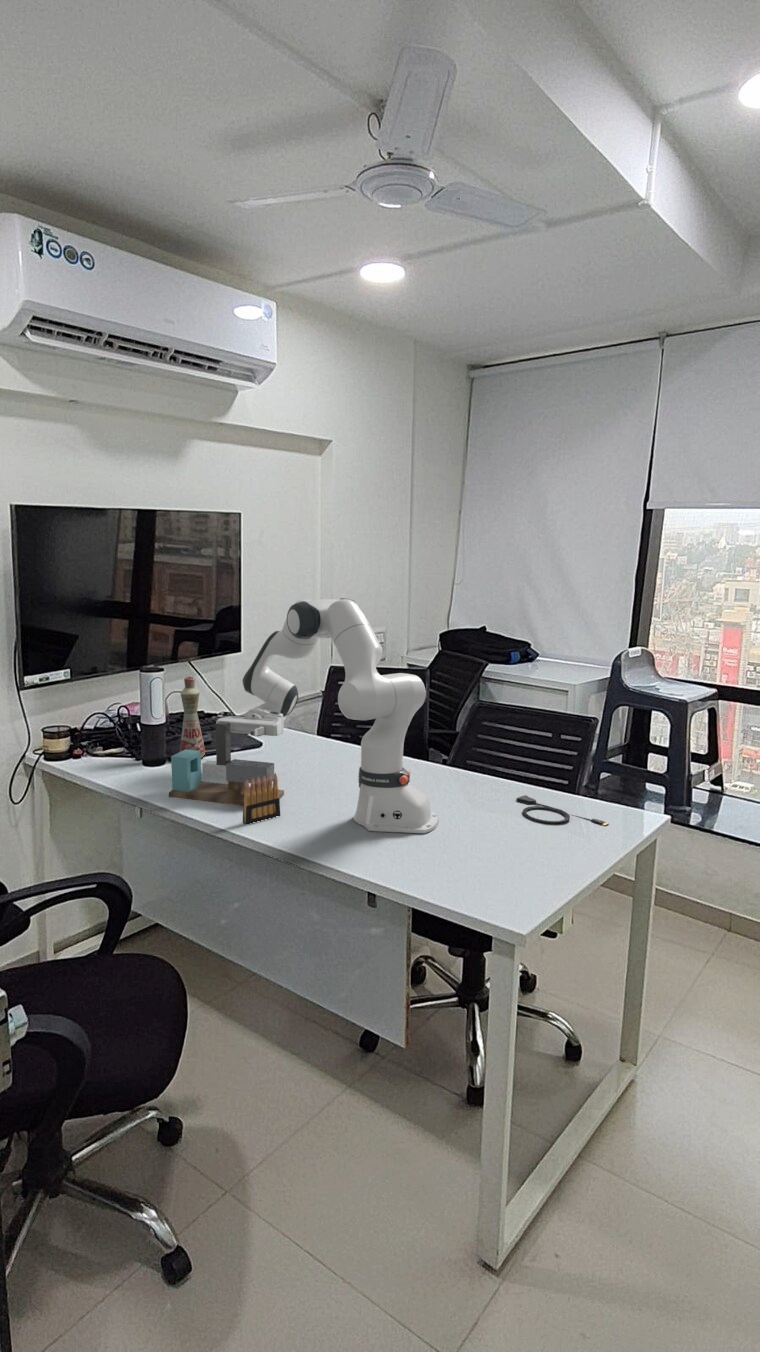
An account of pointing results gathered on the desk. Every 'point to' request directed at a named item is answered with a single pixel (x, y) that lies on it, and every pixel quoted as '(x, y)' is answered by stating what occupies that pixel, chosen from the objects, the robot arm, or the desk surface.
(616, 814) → the desk surface
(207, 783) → the base board
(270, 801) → the ammunition clip
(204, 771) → the dark grey upright post
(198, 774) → the socket block
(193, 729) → the bottle
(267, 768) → the outer sleeve
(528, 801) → the cable
